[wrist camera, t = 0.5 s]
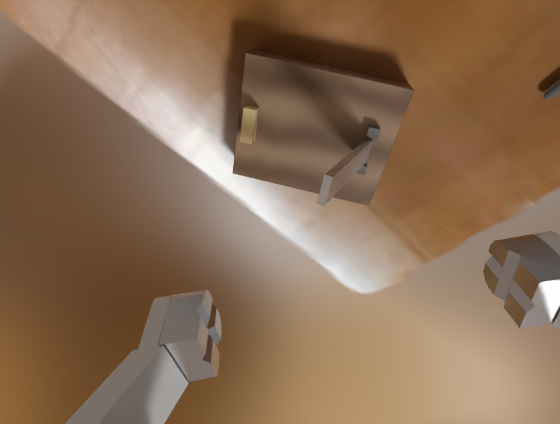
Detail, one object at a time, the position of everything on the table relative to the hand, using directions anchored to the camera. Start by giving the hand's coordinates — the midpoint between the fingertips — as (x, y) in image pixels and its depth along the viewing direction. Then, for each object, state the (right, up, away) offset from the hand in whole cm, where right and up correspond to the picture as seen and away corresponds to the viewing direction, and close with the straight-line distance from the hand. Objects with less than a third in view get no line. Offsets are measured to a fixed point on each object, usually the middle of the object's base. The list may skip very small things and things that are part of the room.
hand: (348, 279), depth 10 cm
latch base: (+3, +14, +36) cm, 39 cm away
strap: (+5, +7, +27) cm, 28 cm away
